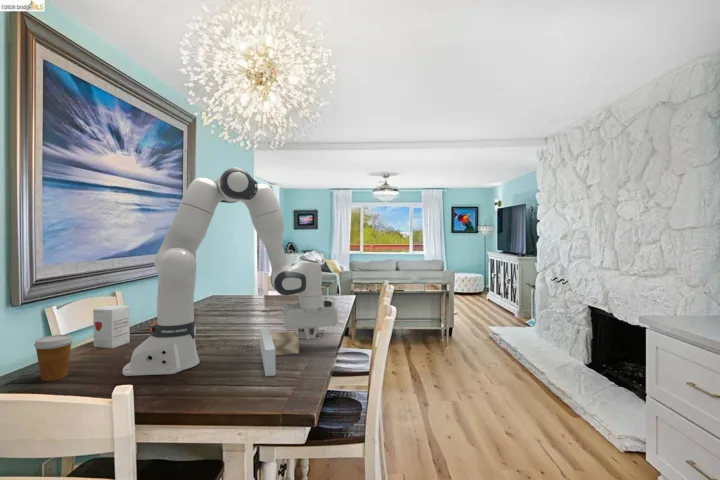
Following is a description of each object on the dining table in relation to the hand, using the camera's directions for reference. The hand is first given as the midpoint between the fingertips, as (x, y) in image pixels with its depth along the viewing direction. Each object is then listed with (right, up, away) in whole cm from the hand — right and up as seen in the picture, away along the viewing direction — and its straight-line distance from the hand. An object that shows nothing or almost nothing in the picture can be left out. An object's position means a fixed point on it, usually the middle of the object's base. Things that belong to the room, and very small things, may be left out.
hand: (311, 338), depth 153 cm
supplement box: (-79, -4, +7) cm, 80 cm away
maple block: (-10, -4, -3) cm, 11 cm away
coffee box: (-3, -4, +18) cm, 19 cm away
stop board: (-13, -4, -15) cm, 20 cm away
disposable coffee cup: (-75, -5, -29) cm, 80 cm away
